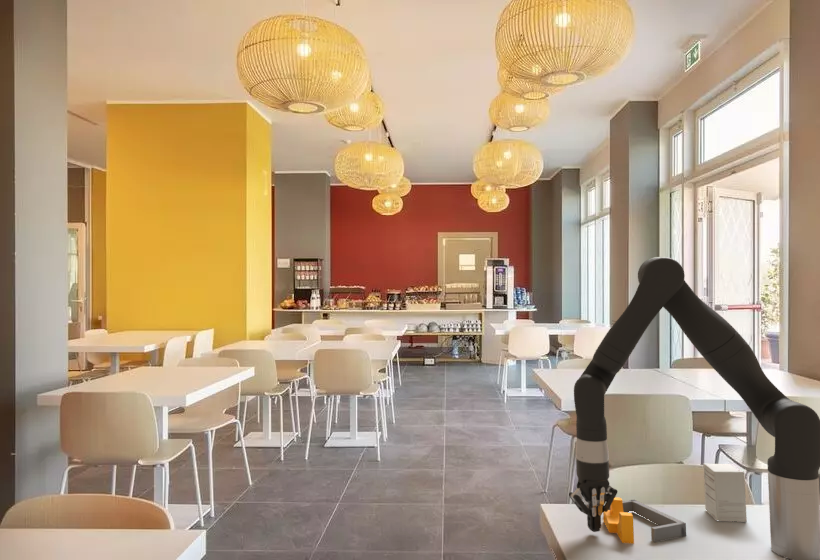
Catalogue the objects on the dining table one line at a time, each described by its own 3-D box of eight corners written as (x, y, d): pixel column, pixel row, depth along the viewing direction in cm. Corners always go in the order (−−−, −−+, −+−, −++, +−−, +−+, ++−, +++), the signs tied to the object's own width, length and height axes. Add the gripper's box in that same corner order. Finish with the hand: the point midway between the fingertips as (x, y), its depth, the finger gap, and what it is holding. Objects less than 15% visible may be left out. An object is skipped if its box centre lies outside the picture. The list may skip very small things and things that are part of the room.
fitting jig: (634, 510, 145) (634, 499, 145) (686, 535, 129) (685, 523, 129) (605, 515, 141) (604, 504, 142) (654, 542, 125) (654, 529, 126)
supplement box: (734, 511, 143) (732, 463, 144) (747, 522, 136) (745, 471, 137) (704, 510, 144) (702, 462, 145) (716, 521, 137) (714, 470, 138)
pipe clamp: (603, 522, 137) (602, 496, 138) (621, 523, 137) (620, 497, 137) (614, 543, 125) (613, 514, 126) (634, 544, 125) (633, 515, 125)
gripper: (579, 464, 125) (581, 541, 124) (625, 458, 129) (627, 532, 128) (559, 456, 132) (561, 528, 131) (604, 450, 136) (606, 520, 136)
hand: (594, 530), depth 130 cm, fingers closed
